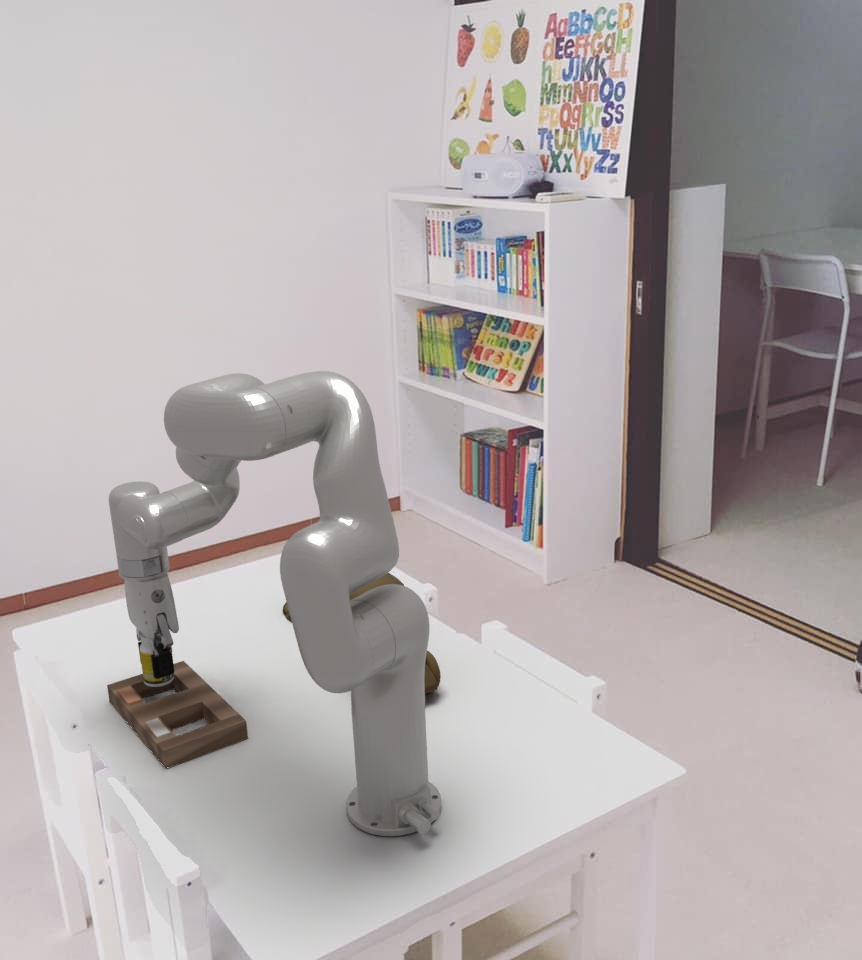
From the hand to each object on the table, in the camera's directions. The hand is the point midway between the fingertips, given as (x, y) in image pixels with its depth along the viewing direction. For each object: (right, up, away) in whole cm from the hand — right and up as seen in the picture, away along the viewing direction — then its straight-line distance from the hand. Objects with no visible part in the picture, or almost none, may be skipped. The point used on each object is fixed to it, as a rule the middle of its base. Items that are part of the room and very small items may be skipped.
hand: (157, 667), depth 171 cm
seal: (+20, +4, +32) cm, 38 cm away
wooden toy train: (+36, -4, +6) cm, 36 cm away
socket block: (+4, -8, -3) cm, 9 cm away
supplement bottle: (0, -2, +1) cm, 2 cm away
